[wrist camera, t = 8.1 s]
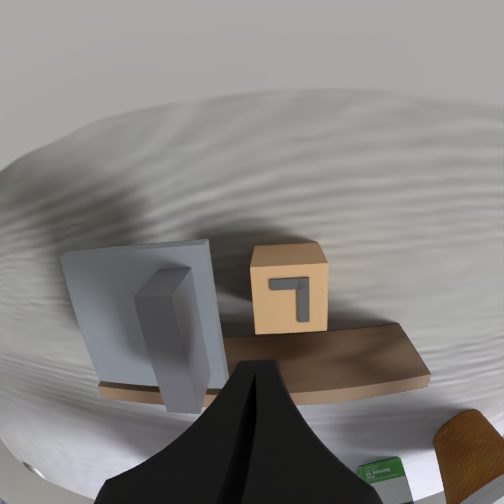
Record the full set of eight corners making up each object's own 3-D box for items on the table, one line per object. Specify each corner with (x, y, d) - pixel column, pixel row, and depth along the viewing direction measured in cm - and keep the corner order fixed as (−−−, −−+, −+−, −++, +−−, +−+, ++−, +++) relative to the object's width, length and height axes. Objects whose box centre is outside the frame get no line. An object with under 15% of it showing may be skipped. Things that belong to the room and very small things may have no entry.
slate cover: (208, 238, 15) (186, 268, 11) (229, 377, 17) (218, 428, 13) (69, 250, 15) (24, 276, 12) (106, 371, 18) (78, 411, 14)
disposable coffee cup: (418, 466, 27) (444, 545, 15) (419, 422, 24) (458, 518, 13) (486, 434, 25) (523, 503, 14) (498, 383, 23) (552, 461, 11)
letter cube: (318, 242, 20) (328, 263, 16) (318, 299, 21) (327, 331, 17) (254, 245, 20) (249, 268, 16) (259, 302, 21) (255, 335, 17)
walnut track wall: (398, 323, 21) (431, 373, 15) (397, 334, 21) (427, 386, 15) (132, 337, 23) (97, 386, 17) (135, 347, 23) (102, 397, 17)
